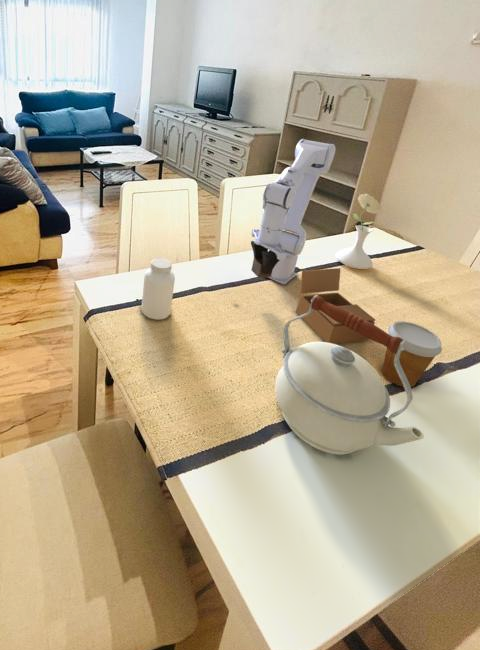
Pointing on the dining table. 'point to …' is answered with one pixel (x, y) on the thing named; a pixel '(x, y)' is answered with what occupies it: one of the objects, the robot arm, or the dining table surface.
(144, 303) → the pill bottle
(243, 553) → the dining table surface
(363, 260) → the flower in vase
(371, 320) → the carton
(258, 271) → the block
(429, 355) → the disposable coffee cup
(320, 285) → the flap
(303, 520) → the dining table surface
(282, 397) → the kettle
